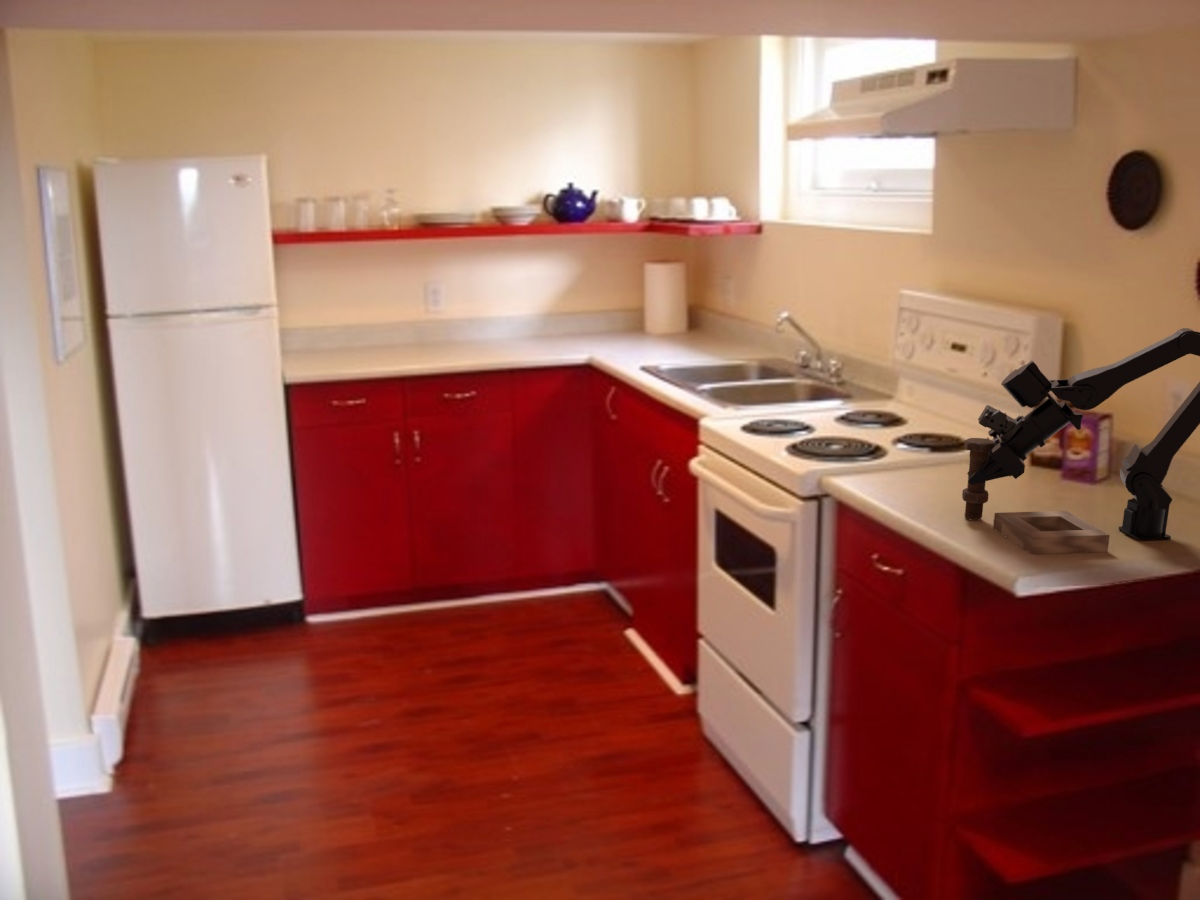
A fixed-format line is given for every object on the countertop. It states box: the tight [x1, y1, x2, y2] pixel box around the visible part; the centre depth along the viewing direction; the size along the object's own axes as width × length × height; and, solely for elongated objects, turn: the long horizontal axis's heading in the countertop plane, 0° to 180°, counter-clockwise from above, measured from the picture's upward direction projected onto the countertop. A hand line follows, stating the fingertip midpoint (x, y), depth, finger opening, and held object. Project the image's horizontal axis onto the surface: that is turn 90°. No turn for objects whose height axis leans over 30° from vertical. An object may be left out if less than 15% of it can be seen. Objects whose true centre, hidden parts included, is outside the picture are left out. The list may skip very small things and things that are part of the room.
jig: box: [992, 510, 1111, 555], centre depth 204 cm, size 14×14×3 cm
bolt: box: [961, 437, 996, 521], centre depth 214 cm, size 6×5×15 cm
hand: (969, 479), depth 214 cm, fingers closed on bolt, 5 cm apart
